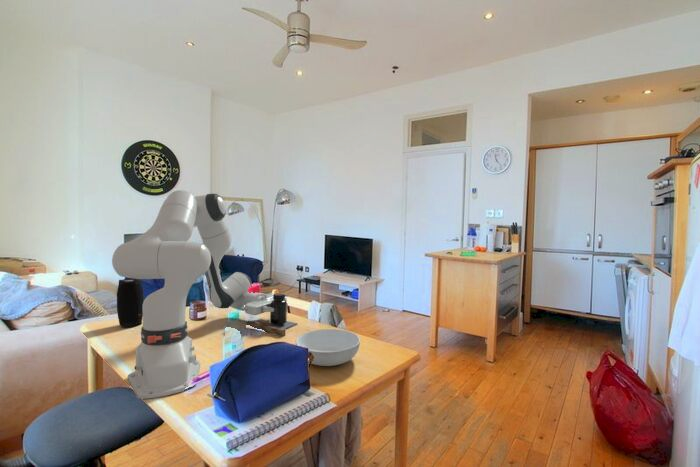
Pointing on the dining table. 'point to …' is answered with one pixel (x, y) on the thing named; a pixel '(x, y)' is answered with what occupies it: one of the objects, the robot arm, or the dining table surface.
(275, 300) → the supplement bottle
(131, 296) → the portable speaker
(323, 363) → the serving bowl
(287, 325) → the grey mat
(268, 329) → the walnut rail
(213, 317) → the dining table surface
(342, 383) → the dining table surface
